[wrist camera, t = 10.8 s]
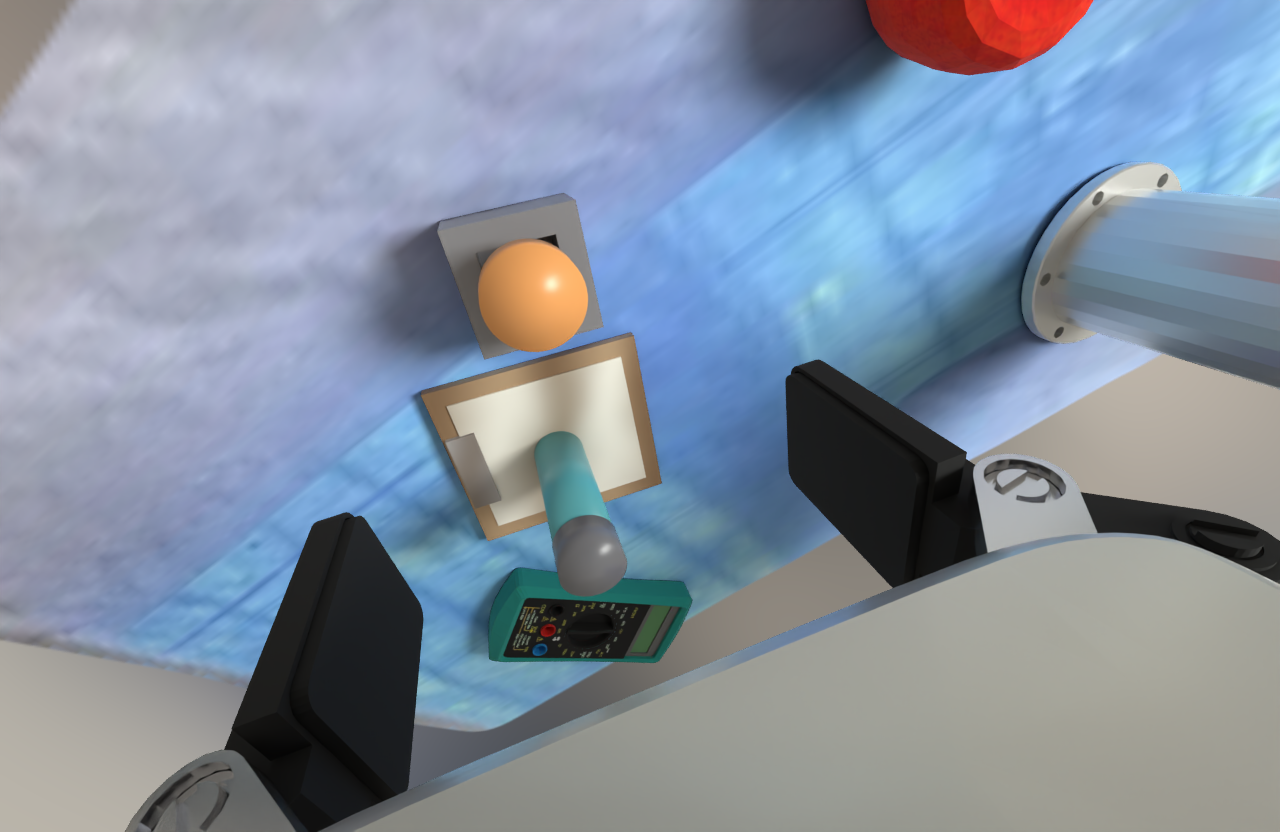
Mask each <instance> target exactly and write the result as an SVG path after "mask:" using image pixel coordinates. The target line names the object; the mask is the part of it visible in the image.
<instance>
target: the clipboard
mask: <svg viewBox="0 0 1280 832" xmlns="http://www.w3.org/2000/svg"><path fill="white" fill-rule="evenodd" d="M421 397H422V399H423V401H424V403H425V406H426V408H427V410H428V412H429V414H430V416H431V419H432V421H433V423H434V425H435V427H436V429H437V432H438V434H439V436H440V438H441V440H442V442H443V445H444V447H445V449H446V451H447V453H448V455H449V458H450V460H451V462H452V464H453V466H454V468H455V471H456V473H457V475H458V477H459V479H460V481H461V484H462V486H463V488H464V490H465V492H466V494H467V497H468V499H469V501H470V503H471V505H472V507H473V510H474V512H475V514H476V516H477V518H478V520H479V523H480V525H481V527H482V529H483V531H484V533H485V536H486V538H487V540H488V541H490V540H493V539H496V538H499V537H502V536H505V535H508V534H511V533H514V532H517V531H520V530H523V529H526V528H529V527H532V526H535V525H538V524H541V523H544V522H547V521H548V519H547V515H546V510H545V505H544V500H543V496H542V491H541V486H540V482H539V477H538V472H537V467H536V463H535V458H534V451H535V447H536V445H537V443H538V442H539V441H540V440H541V439H542V438H543V437H544V436H546V435H548V434H550V433H552V432H557V431H566V432H570V433H572V434H574V435H576V436H577V437H578V438H579V439H580V441H581V442H582V445H583V448H584V450H585V453H586V456H587V458H588V461H589V464H590V466H591V469H592V472H593V474H594V477H595V480H596V482H597V485H598V488H599V490H600V493H601V496H602V498H603V501H604V502H607V501H610V500H613V499H616V498H619V497H622V496H625V495H628V494H631V493H634V492H637V491H640V490H643V489H646V488H649V487H652V486H655V485H658V484H661V483H662V482H661V477H660V472H659V466H658V461H657V456H656V450H655V445H654V440H653V435H652V429H651V424H650V419H649V413H648V408H647V403H646V398H645V392H644V387H643V382H642V376H641V371H640V366H639V360H638V355H637V350H636V345H635V339H634V335H633V334H632V333H627V334H623V335H620V336H616V337H613V338H609V339H606V340H602V341H598V342H595V343H591V344H588V345H584V346H580V347H577V348H573V349H570V350H566V351H562V352H559V353H555V354H552V355H548V356H544V357H541V358H537V359H534V360H530V361H526V362H523V363H519V364H516V365H512V366H509V367H505V368H501V369H498V370H494V371H491V372H487V373H483V374H480V375H476V376H473V377H469V378H465V379H462V380H458V381H455V382H451V383H447V384H444V385H440V386H437V387H433V388H429V389H426V390H422V392H421Z"/></svg>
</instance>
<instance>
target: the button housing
mask: <svg viewBox="0 0 1280 832" xmlns="http://www.w3.org/2000/svg"><path fill="white" fill-rule="evenodd" d="M437 232H438V235H439V238H440V240H441V243H442V246H443V248H444V251H445V254H446V257H447V259H448V262H449V265H450V267H451V270H452V273H453V276H454V278H455V281H456V284H457V286H458V289H459V292H460V295H461V297H462V300H463V303H464V305H465V308H466V311H467V314H468V316H469V319H470V322H471V324H472V327H473V330H474V333H475V335H476V338H477V341H478V343H479V346H480V349H481V352H482V354H483V357H484V360H485V359H488V358H492V357H496V356H499V355H503V354H507V353H510V352H514V351H517V350H518V349H515V348H513V347H510V346H508V345H507V344H505V343H503V342H502V341H500V340H499V339H498V338H497V337H496V336H495V335H494V334H493V333H492V332H491V331H490V330H489V328H488V327H487V325H486V323H485V322H484V319H483V317H482V314H481V311H480V306H479V297H478V281H479V276H480V272H481V269H482V267H483V265H484V263H485V262H486V260H487V259H488V257H489V256H490V255H491V254H492V253H493V252H494V251H495V250H496V249H497V248H499V247H501V246H502V245H504V244H506V243H508V242H511V241H514V240H518V239H529V238H530V239H538V240H542V241H546V242H548V243H551V244H552V245H554V246H556V247H558V248H559V249H560V250H562V251H563V252H564V253H565V254H566V255H567V256H568V257H569V258H570V260H571V261H572V262H573V263H574V264H575V266H576V267H577V268H578V270H579V271H580V273H581V274H582V276H583V279H584V281H585V284H586V287H587V293H588V306H587V312H586V315H585V318H584V321H583V323H582V325H581V326H580V328H579V329H578V331H577V332H576V333H575V334H574V335H576V334H580V333H583V332H587V331H590V330H594V329H598V328H601V327H603V322H602V318H601V313H600V309H599V304H598V300H597V295H596V291H595V286H594V282H593V277H592V273H591V268H590V264H589V259H588V255H587V250H586V246H585V241H584V236H583V232H582V227H581V223H580V218H579V214H578V209H577V205H576V200H575V199H573V198H572V197H570V196H568V195H566V194H565V193H561V194H556V195H552V196H548V197H543V198H539V199H534V200H530V201H525V202H521V203H516V204H512V205H508V206H503V207H499V208H494V209H490V210H485V211H481V212H477V213H472V214H468V215H463V216H459V217H454V218H450V219H446V220H441V221H440V224H439V227H438V230H437Z"/></svg>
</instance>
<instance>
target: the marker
mask: <svg viewBox="0 0 1280 832" xmlns="http://www.w3.org/2000/svg"><path fill="white" fill-rule="evenodd" d="M534 458H535V463H536V467H537V472H538V477H539V482H540V486H541V491H542V496H543V500H544V505H545V510H546V515H547V519H548V524H549V529H550V534H551V538H552V548H553V553H554V558H555V563H556V567H557V572H558V577H559V581H560V584H561V586H562V587H563V589H564V590H565V591H567V592H568V593H570V594H573V595H576V596H594V595H598V594H601V593H603V592H606V591H607V590H609V589H611V588H612V587H614V586H615V585H616V584H617V583H618V582H619V581H620V580H621V579H622V577H623V576H624V574H625V572H626V568H627V559H626V557H625V554H624V551H623V549H622V546H621V543H620V541H619V538H618V535H617V533H616V530H615V527H614V526H613V524H612V522H611V520H610V517H609V514H608V512H607V509H606V506H605V504H604V501H603V498H602V496H601V493H600V490H599V488H598V485H597V482H596V480H595V477H594V474H593V472H592V469H591V466H590V464H589V461H588V458H587V456H586V453H585V450H584V448H583V445H582V442H581V441H580V439H579V438H578V437H577V436H576V435H574V434H572V433H570V432H566V431H557V432H552V433H550V434H548V435H546V436H544V437H543V438H542V439H541V440H540V441H539V442H538V443H537V445H536V447H535V451H534Z"/></svg>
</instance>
